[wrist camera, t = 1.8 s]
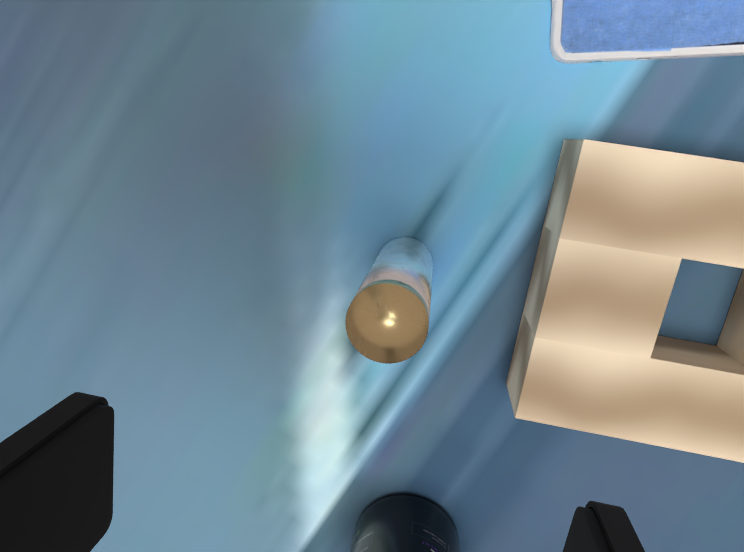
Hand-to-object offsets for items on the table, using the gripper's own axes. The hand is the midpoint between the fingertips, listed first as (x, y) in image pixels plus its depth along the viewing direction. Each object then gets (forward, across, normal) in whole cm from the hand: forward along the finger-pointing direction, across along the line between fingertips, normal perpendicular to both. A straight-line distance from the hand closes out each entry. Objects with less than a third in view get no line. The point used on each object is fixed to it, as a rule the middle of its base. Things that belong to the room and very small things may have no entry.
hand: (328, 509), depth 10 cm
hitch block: (+20, -15, -1) cm, 25 cm away
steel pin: (+20, 0, 0) cm, 20 cm away
